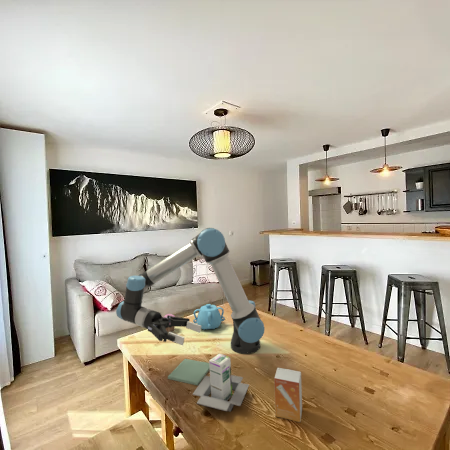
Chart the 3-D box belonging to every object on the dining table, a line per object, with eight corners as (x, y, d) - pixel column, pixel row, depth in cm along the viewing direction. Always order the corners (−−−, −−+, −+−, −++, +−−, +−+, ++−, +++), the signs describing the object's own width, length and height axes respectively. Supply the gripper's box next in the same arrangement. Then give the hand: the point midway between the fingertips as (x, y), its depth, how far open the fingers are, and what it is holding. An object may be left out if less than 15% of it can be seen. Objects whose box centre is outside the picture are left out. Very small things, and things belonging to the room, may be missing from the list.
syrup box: (223, 405, 88) (221, 364, 88) (210, 398, 92) (208, 359, 91) (232, 395, 93) (231, 357, 92) (220, 389, 96) (218, 352, 96)
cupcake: (170, 326, 156) (169, 310, 156) (180, 329, 151) (179, 313, 151) (159, 332, 149) (158, 315, 149) (168, 335, 144) (168, 318, 144)
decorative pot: (190, 327, 155) (189, 305, 154) (210, 318, 166) (209, 298, 166) (207, 334, 143) (206, 311, 143) (227, 325, 154) (226, 303, 154)
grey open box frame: (209, 377, 104) (209, 370, 104) (251, 386, 97) (251, 378, 97) (188, 409, 87) (187, 400, 87) (237, 422, 80) (236, 413, 80)
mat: (185, 360, 117) (185, 358, 117) (212, 365, 112) (212, 363, 112) (167, 378, 104) (167, 376, 104) (197, 385, 99) (197, 383, 99)
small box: (275, 417, 82) (273, 377, 82) (278, 403, 88) (277, 366, 88) (301, 423, 79) (299, 382, 79) (302, 408, 85) (301, 371, 85)
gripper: (165, 319, 117) (205, 333, 109) (125, 338, 94) (172, 358, 86) (167, 303, 117) (207, 316, 109) (129, 318, 94) (176, 336, 86)
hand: (192, 334), depth 98 cm, fingers open, 13 cm apart
